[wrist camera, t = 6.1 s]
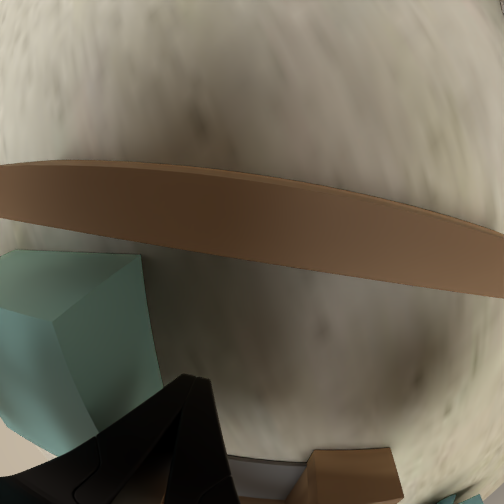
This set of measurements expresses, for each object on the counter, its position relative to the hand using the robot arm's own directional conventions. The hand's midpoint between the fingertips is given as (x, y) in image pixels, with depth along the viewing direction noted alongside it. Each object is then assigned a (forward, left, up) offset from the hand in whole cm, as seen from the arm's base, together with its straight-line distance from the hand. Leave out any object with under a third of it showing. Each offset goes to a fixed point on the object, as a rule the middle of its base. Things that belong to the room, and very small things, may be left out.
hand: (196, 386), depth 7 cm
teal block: (0, +5, -1) cm, 5 cm away
